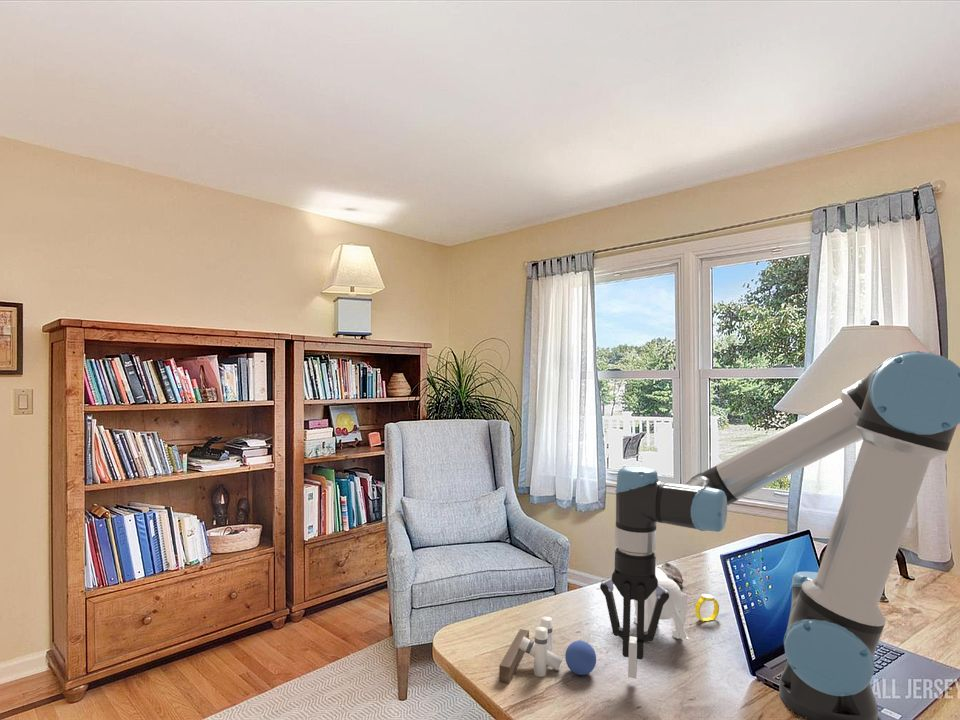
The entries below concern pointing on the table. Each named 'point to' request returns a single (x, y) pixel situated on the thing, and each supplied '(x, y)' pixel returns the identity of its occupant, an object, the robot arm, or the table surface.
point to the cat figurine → (667, 605)
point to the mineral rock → (672, 573)
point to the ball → (580, 657)
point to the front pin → (529, 648)
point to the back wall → (512, 658)
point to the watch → (697, 608)
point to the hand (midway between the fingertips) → (632, 674)
